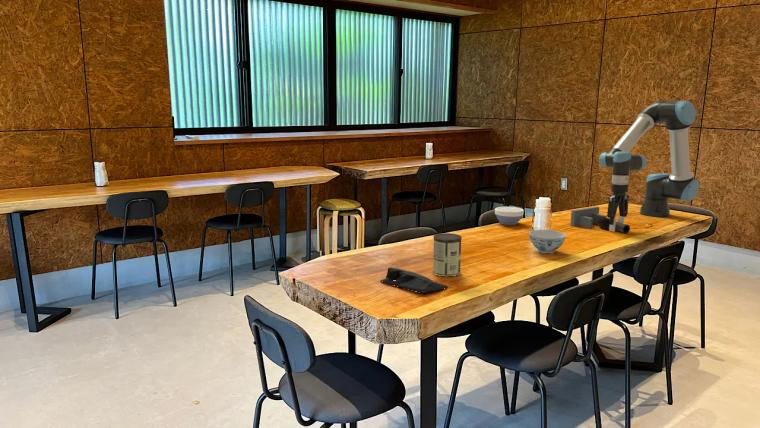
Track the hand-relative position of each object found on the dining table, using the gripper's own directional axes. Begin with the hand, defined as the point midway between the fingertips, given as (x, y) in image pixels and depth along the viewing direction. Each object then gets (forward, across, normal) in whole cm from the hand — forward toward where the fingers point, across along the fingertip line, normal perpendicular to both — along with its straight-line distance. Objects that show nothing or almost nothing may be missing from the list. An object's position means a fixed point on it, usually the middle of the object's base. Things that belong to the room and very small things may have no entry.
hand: (616, 230), depth 271 cm
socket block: (0, 0, +15) cm, 15 cm away
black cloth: (+3, -132, -9) cm, 132 cm away
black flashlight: (0, 0, +3) cm, 3 cm away
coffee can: (+2, -114, -5) cm, 114 cm away
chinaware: (+2, -59, -6) cm, 59 cm away
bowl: (0, -33, +40) cm, 52 cm away
